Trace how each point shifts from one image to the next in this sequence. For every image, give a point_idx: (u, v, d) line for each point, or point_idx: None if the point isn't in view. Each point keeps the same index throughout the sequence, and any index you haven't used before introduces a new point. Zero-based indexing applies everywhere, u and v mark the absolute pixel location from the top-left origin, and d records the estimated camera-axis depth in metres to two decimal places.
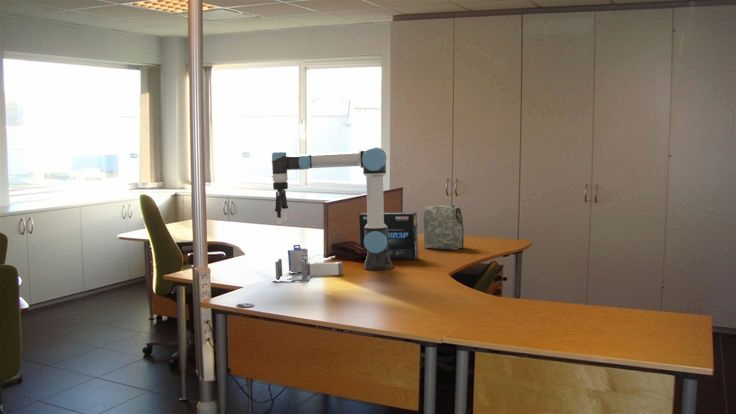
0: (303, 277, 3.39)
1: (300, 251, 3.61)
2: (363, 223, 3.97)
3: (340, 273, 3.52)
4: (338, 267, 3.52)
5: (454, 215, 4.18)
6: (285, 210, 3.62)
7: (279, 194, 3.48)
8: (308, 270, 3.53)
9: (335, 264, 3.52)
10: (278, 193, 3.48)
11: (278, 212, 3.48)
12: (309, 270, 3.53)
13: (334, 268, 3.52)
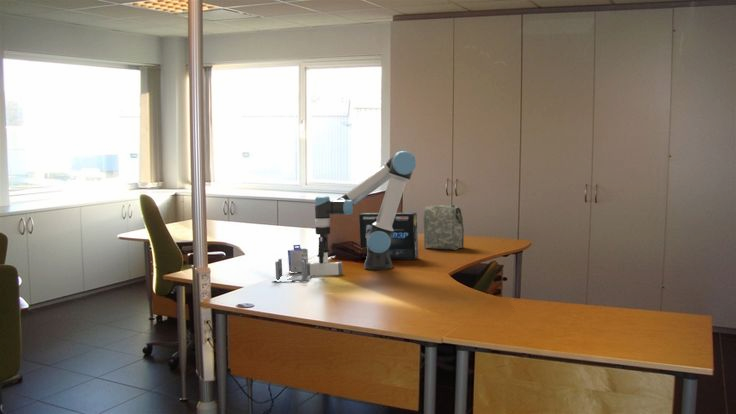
0: (303, 277, 3.39)
1: (300, 251, 3.61)
2: (363, 223, 3.97)
3: (340, 273, 3.52)
4: (338, 267, 3.52)
5: (454, 215, 4.18)
6: (326, 254, 3.60)
7: (322, 239, 3.46)
8: (308, 270, 3.53)
9: (335, 264, 3.52)
10: (321, 238, 3.46)
11: (321, 258, 3.46)
12: (309, 270, 3.53)
13: (334, 268, 3.52)
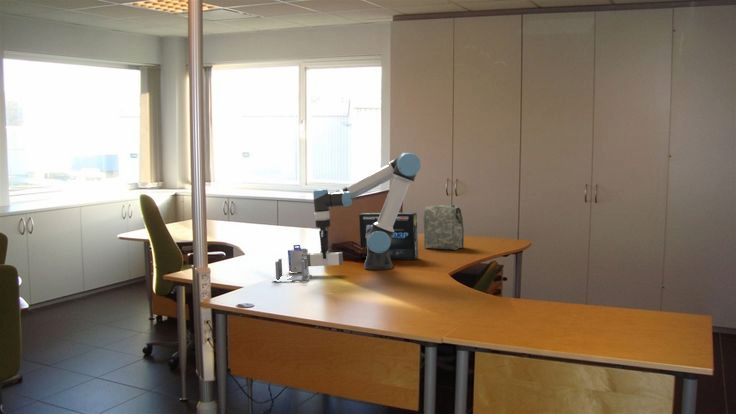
0: (303, 277, 3.39)
1: (300, 251, 3.61)
2: (363, 223, 3.97)
3: (340, 263, 3.52)
4: (338, 257, 3.52)
5: (454, 215, 4.18)
6: (327, 252, 3.56)
7: (323, 236, 3.47)
8: (308, 261, 3.53)
9: (335, 254, 3.52)
10: (322, 235, 3.47)
11: (324, 253, 3.50)
12: (309, 261, 3.53)
13: (334, 258, 3.52)
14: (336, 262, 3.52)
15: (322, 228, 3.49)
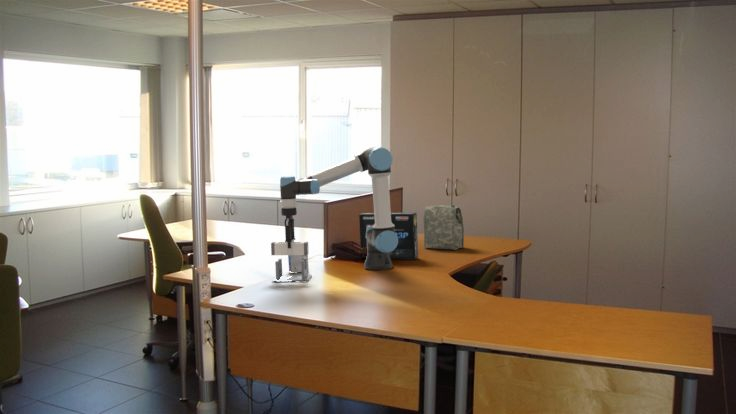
0: (303, 277, 3.39)
1: None
2: (363, 223, 3.97)
3: (305, 253, 3.40)
4: (303, 247, 3.40)
5: (454, 215, 4.18)
6: None
7: (288, 224, 3.35)
8: (272, 249, 3.41)
9: (300, 244, 3.40)
10: (287, 223, 3.35)
11: (288, 243, 3.38)
12: (273, 250, 3.41)
13: (299, 248, 3.40)
14: (301, 252, 3.40)
15: (288, 216, 3.37)
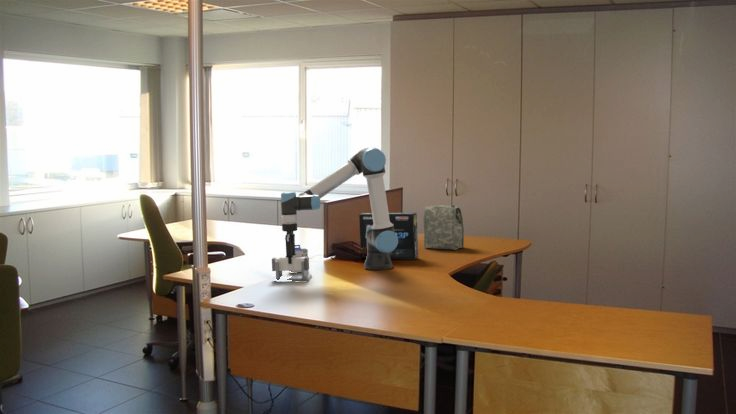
0: (303, 277, 3.39)
1: (300, 251, 3.61)
2: (363, 223, 3.97)
3: (306, 268, 3.41)
4: None
5: (454, 215, 4.18)
6: None
7: (289, 240, 3.36)
8: (273, 265, 3.42)
9: (301, 259, 3.41)
10: (288, 239, 3.36)
11: (289, 258, 3.39)
12: (274, 266, 3.42)
13: (300, 263, 3.41)
14: None
15: (288, 232, 3.38)
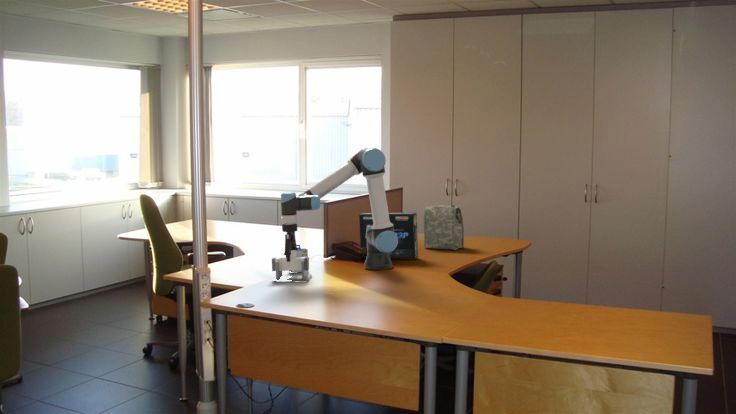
0: (303, 277, 3.39)
1: (300, 251, 3.61)
2: (363, 223, 3.97)
3: (306, 268, 3.41)
4: None
5: (454, 215, 4.18)
6: (294, 252, 3.49)
7: (288, 237, 3.35)
8: (273, 265, 3.42)
9: (301, 259, 3.41)
10: (287, 236, 3.35)
11: (287, 256, 3.35)
12: (274, 266, 3.42)
13: (300, 263, 3.41)
14: None
15: None
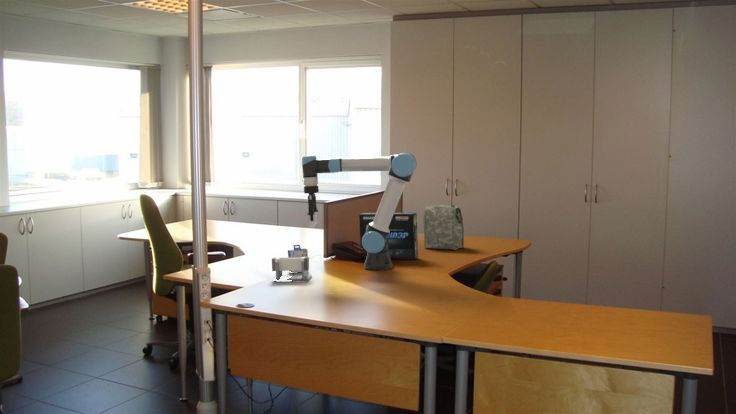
0: (303, 277, 3.39)
1: (300, 251, 3.61)
2: (363, 223, 3.97)
3: (306, 268, 3.41)
4: None
5: (454, 215, 4.18)
6: (315, 213, 3.64)
7: (311, 198, 3.50)
8: (273, 265, 3.42)
9: (301, 259, 3.41)
10: (310, 197, 3.50)
11: (311, 216, 3.49)
12: (274, 266, 3.42)
13: (300, 263, 3.41)
14: None
15: None
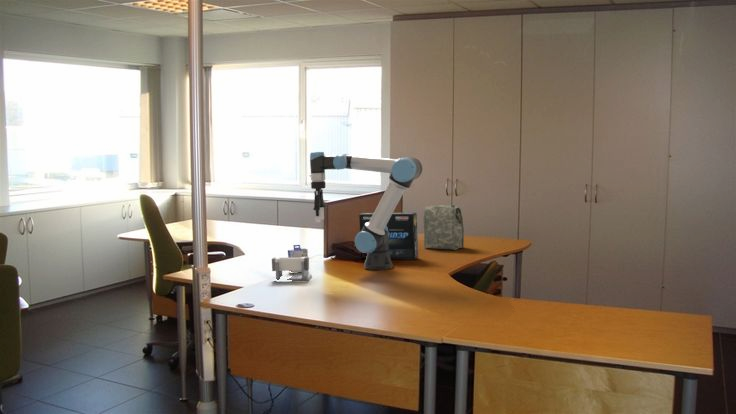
0: (303, 277, 3.39)
1: (300, 251, 3.61)
2: (363, 223, 3.97)
3: (306, 268, 3.41)
4: None
5: (454, 215, 4.18)
6: (322, 209, 3.70)
7: (317, 193, 3.55)
8: (273, 265, 3.42)
9: (301, 259, 3.41)
10: (317, 192, 3.56)
11: (317, 211, 3.55)
12: (274, 266, 3.42)
13: (300, 263, 3.41)
14: None
15: None
